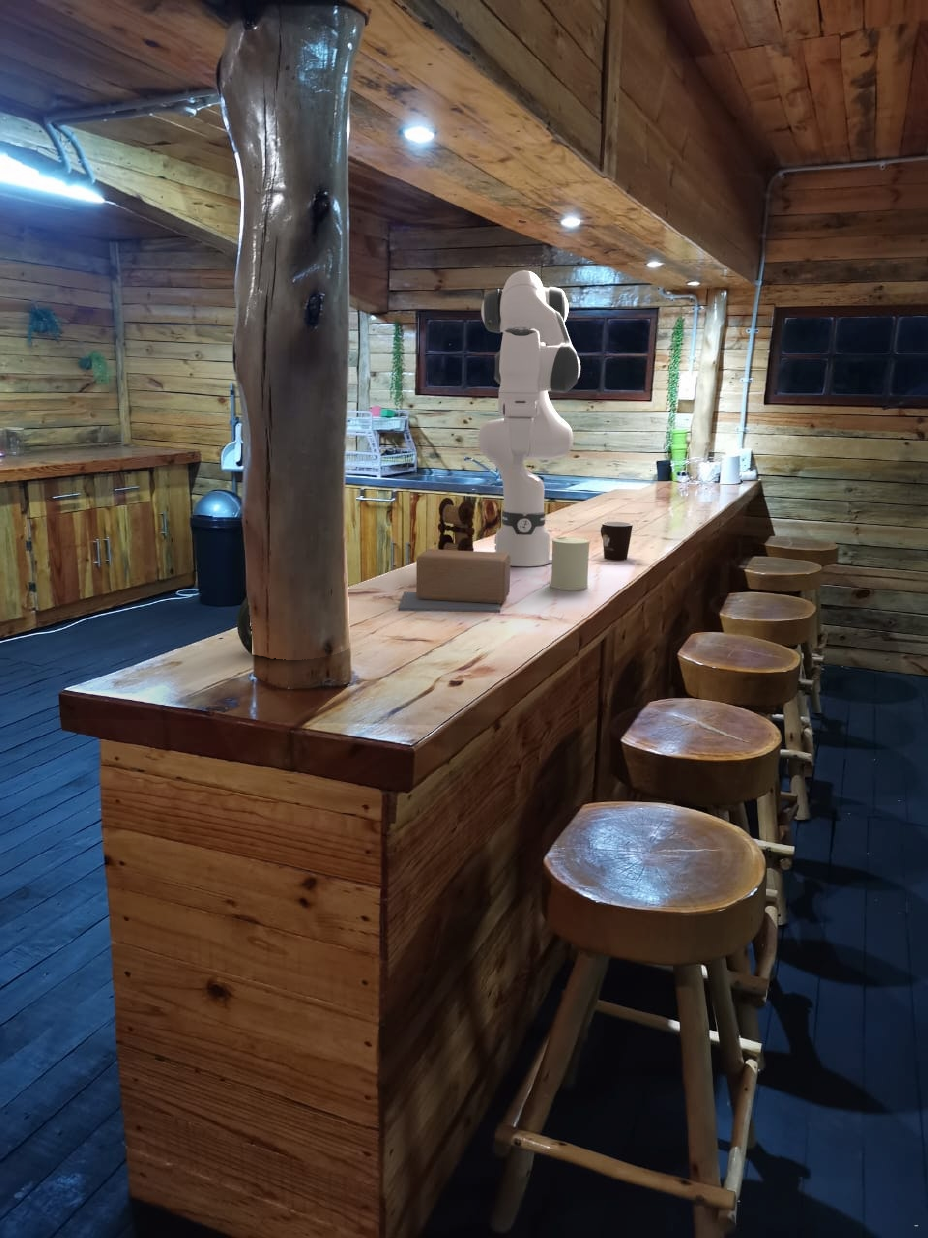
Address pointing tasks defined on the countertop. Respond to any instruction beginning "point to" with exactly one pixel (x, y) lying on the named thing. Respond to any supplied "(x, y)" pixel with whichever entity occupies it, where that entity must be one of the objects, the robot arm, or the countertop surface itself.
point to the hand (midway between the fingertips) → (517, 472)
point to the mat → (443, 605)
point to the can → (569, 563)
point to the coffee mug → (616, 540)
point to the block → (463, 576)
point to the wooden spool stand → (456, 525)
